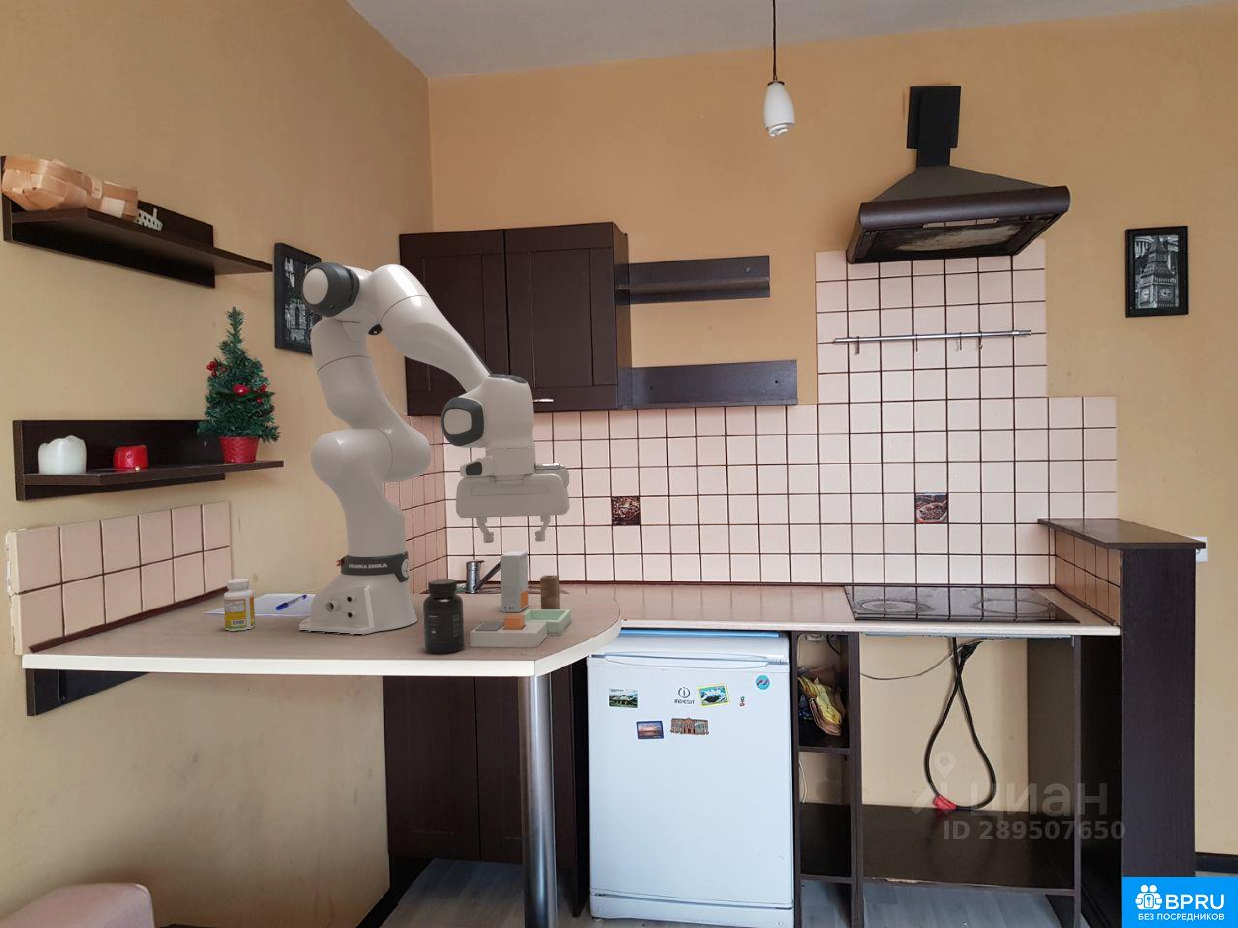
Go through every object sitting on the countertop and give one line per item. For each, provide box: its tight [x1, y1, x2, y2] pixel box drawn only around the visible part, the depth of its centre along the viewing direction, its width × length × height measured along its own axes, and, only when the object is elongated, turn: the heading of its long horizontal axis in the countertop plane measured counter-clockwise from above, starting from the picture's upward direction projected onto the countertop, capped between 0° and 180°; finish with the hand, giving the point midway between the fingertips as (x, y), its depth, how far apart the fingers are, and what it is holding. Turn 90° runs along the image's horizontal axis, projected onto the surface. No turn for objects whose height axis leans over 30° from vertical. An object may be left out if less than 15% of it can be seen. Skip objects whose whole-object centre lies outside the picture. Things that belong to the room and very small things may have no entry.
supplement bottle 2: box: [422, 578, 465, 655], centre depth 143 cm, size 7×7×12 cm
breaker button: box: [503, 613, 525, 630], centre depth 148 cm, size 3×3×2 cm
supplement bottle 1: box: [223, 578, 256, 631], centre depth 163 cm, size 5×5×10 cm
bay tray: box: [521, 608, 572, 637], centre depth 157 cm, size 9×11×2 cm
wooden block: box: [539, 575, 561, 609], centre depth 167 cm, size 3×3×8 cm
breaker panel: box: [469, 621, 548, 648], centre depth 148 cm, size 12×8×3 cm, turn 82°
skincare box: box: [500, 550, 529, 613], centre depth 174 cm, size 6×4×12 cm
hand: (514, 541), depth 147 cm, fingers open, 8 cm apart
